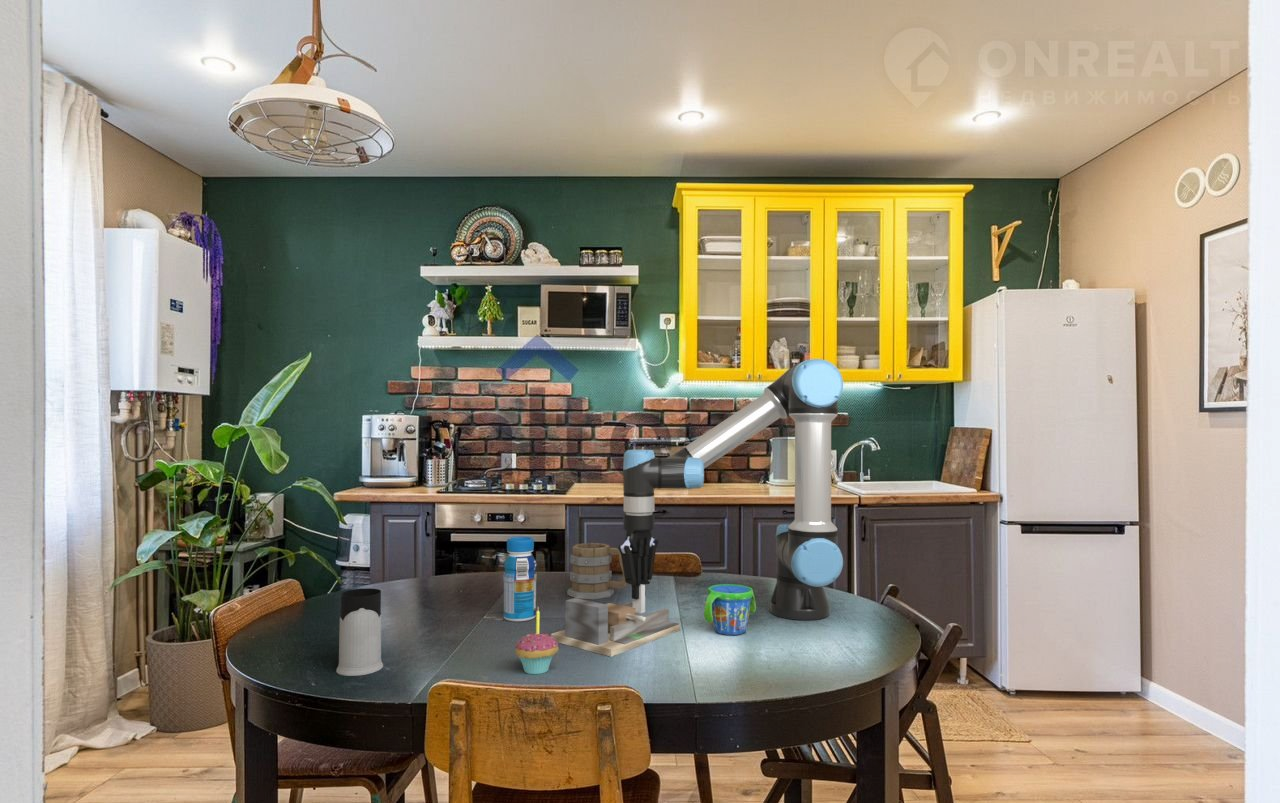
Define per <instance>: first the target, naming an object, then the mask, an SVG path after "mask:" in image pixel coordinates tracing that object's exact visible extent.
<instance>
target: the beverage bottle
mask: <svg viewBox="0 0 1280 803" xmlns="http://www.w3.org/2000/svg"><path fill="white" fill-rule="evenodd" d="M534 547H535V540H534V537H531V536H514V537H513V536H512V537H509V538H507V541H506V551H507V553H508V555H507V557H506V559H505V560H504V563H503V568H504V573H503V574H502V575H503V576H502V579H503V618H504V620H506V621H508V622H519V623H520V622H521V623H522V622H527V621H531V620H534V619H536V611H537V605H536V604H537V579H538V573H537V571H536V568H537V561H536V559H535V557H534V555H533V553H532V552H534V549H535V548H534Z"/></svg>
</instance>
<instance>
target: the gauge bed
mask: <svg viewBox="0 0 1280 803" xmlns="http://www.w3.org/2000/svg"><path fill="white" fill-rule="evenodd" d="M606 604H607V603H600V602H596V601H592V600H588V599H577V598H573V597H572V598H569V599H566V600H565V604H564V605H565V606H564V608H565V610H564V611H565V612H564V613H565V615H564V623H565V625H564V627H565V628H564V629H563V630H559V631H556V632H553V633H550V636H552V637H553V638H555V640H556V641H557V643H558V644H563V645H564V646H565V645H566V646H570V647H573V648H577V649H581V650H584V651H587V652H592V653H596V654H600V655H604V656H608V657H610V658H612V657H614V656H617V655H620V654H621V653H625V652H627V651H629V650H633V649H635V648H637V647H640V646H643V645H646V644H648V643H651V642H653V641H655V640H658V639H661V638H664V637H666V636H668V635H671V634H674V633H676V632H679V631H681V624H680V623H677V622H674V621H670V620H669V618H670V617H669V616H670V612H669V609H667V608H663V609H660V610H657V611H654V612H651V613H648V614H645V615H640V614H636V615H637V616H642V617H646V621H644V622H643V621H638V620H634V619H632V620H629V621H626V622H623V623H620V624H617V625H614V626H611V627H610V632H608V605H606ZM620 605H622V606H627V607H632V608H633V601H629V602H625V603H622V604H620Z"/></svg>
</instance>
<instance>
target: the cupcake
mask: <svg viewBox="0 0 1280 803" xmlns="http://www.w3.org/2000/svg"><path fill="white" fill-rule="evenodd" d="M539 609H540V608H539V606H537V610H536V617H535V619H536V620H535V632H533V633H527V634H526V635H524V636H522V637H520V639H518V640H517V642H516V643H515V655H516V656H517V657H518V658H519V660H520V662H521V664H522V668H523V671H524V672H525V674H529V675H541V674H545V673H546V672H548V671H549V669H550V665H551V662H552V659H553V656H554V655H555V654H557V653H558V652H559V650H560V648H559V643H558V642H557V641H556V640H555V638H553V637H552V636H551V635H550V634H547V633H541V632H540V614H541V613H540V612H541V611H540V610H539Z"/></svg>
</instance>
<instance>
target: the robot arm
mask: <svg viewBox="0 0 1280 803" xmlns="http://www.w3.org/2000/svg"><path fill="white" fill-rule="evenodd" d="M843 390H844V379H843V375H842V374H841V372H840V370H839V369H838V367H837V366H835V365H834V364H833V363H832V362H831V361H828V360H825V359H820V358H813V359H811V358H810V359H806V360H804V361H802V362H800V363H797V364H795V365H793V366H791V367H790V368H789V369H787V370H786V371H785V372H784V373H783V374H781V375H780V376H779V377H778V378H777V379H776V380H774V381H773V382H772V383H771V384H769V385H768V386H766V387H765V388H764V390H763V394H761V395H760V396H759V397H757V398H755V399H754V400H752V401H751V402H750V403H748V404H746V405H745V406H744V407H742V408H740V409H739V410H737V411H736V412H735V413H733V414H732V415H730V416H729V417H727V418H726V419H724V420H723V421H721V422H720V423H718V424H717V425H715V426H714V427H712V428H711V429H709V430H708V431H706V432H705V433H704V434H702V435H701V436H699V437H698V438H696V439H695V440H693V441H691V442H690V443H689V444H687V445H685V447H683V448H682V449H680V450H678V451H677V452H675V453H674V454H672V455H669V456H667V457H656V456H655V452H654V450H653V449H628V450H626V451H625V452H624V453H623V466H622V469H623V470H622V473H623V474H622V477H623V478H622V479H623V480H622V481H623V482H622V483H623V489H622V490H623V512H624V514H623V515H622V516H623V517H622V520H623V521H622V524H623V525H622V526H623V530H624V531H625V534H626V535H625V538H624V539H625V541H624V543H623V544H619V545H618V547H617V548H618V549H619V551H620V553H621V557H622V564H623V570H624V576H625V582H626V583H627V585H630V586H631V599H632V602H633V608H636V613H638V614H644V613H646V596H647V589H646V588H647V585H650V584H651V581H652V579H653V573H654V567H655V566H654V565H655V560H656V552H657V547H658V545H659V539H656V538H653V533H652V531H653V530H655V514H653V513H654V512H655V511H656V510H655V489H656V490H657V489H658V490H661V489H670V490H671V489H673V490H674V489H676V490H679V489H681V490H692V489H701V488H702V487H703V486H704V481H705V469H706V468H707V467H708V466H710V465H712V464H713V463H714V462H717V460H719V459H720V458H723V457H724V456H725V455H727V454H728V453H730V452H731V451H733V450H734V449H735V448H737V447H739V446H740V445H741V444H744V442H746V441H747V440H750V439H751V438H752V437H753V436H755V435H758V433H760V432H761V431H763V430H764V429H765V428H767V427H769V426H770V425H772V424H774V422H776V421H777V420H779V419H784V420H786V419H788V418H789V417H790V418H791V419H792V420H793V421H794V520H793V521H792V522H791V523H789V524H788V523H787V524H783V523H782V524H779V525H777V526H776V532H775V540H776V542H775V544H776V548H775V550H776V551H775V552H776V554H775V555H776V557H775V558H776V562H775V563H776V582H775V585H774V589H773V592H772V596H771V599H770V602H769V612H770V613H771V614H772V615H774V616H777V617H780V618H784V619H789V620H798V621H809V620H811V621H813V620H821V619H826V618H828V617H829V616H830V603H829V601H828V598H827V594H826V591H825V589H824V588H825V586H828V585H830V584H832V583H833V582H834V581H836V580H837V579H838V577H839V576H840V574H841V573H842V570H843V566H844V558H843V553H842V551H841V549H840V548H839V546H838V544H839V543H838V534H839V533H838V528H837V526H836V525H835V524H834V523H833V522H832V422H833V421H834V420H835V419H836V417H837V416H838V414H839V413H838V412H839V411H838V408H839V407H838V404H839V403H838V401H839V399H840V397H841V396H842V393H843Z"/></svg>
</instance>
